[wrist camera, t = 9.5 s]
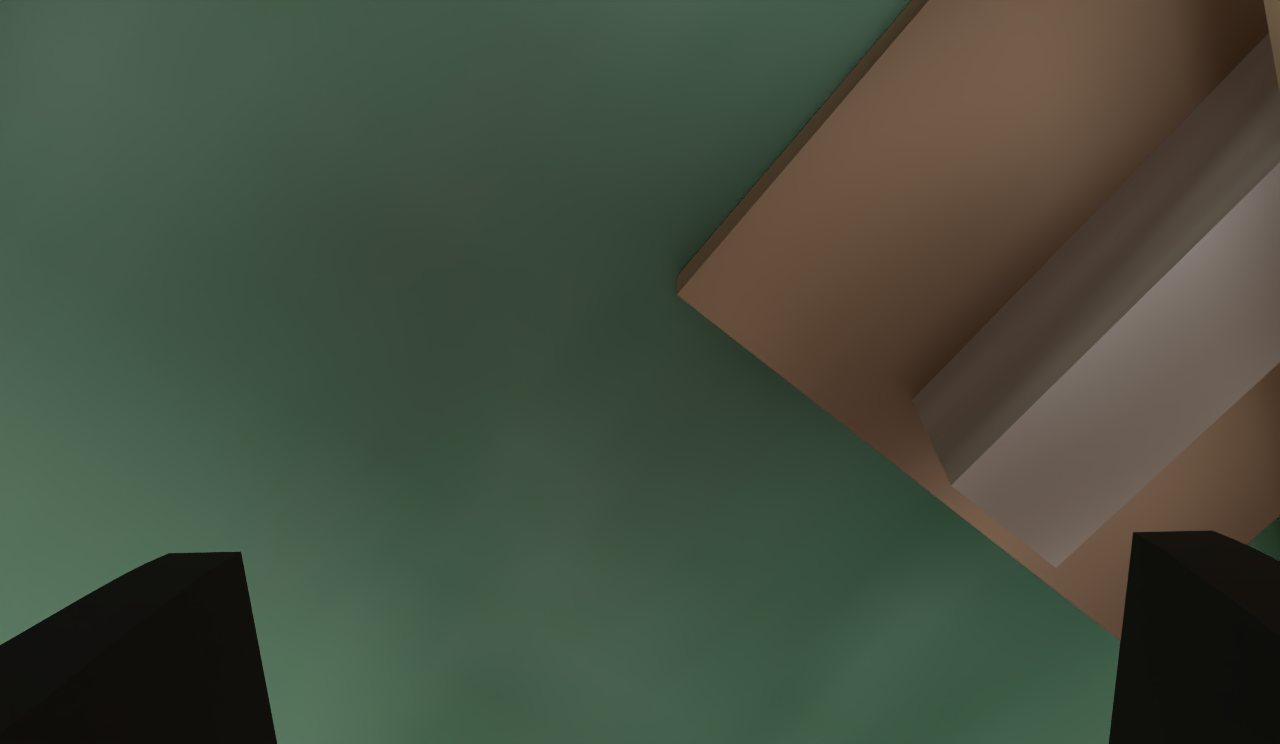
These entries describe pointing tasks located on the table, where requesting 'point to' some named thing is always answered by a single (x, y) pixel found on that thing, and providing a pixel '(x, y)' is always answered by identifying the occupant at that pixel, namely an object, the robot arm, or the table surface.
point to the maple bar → (1274, 31)
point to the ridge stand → (1036, 272)
